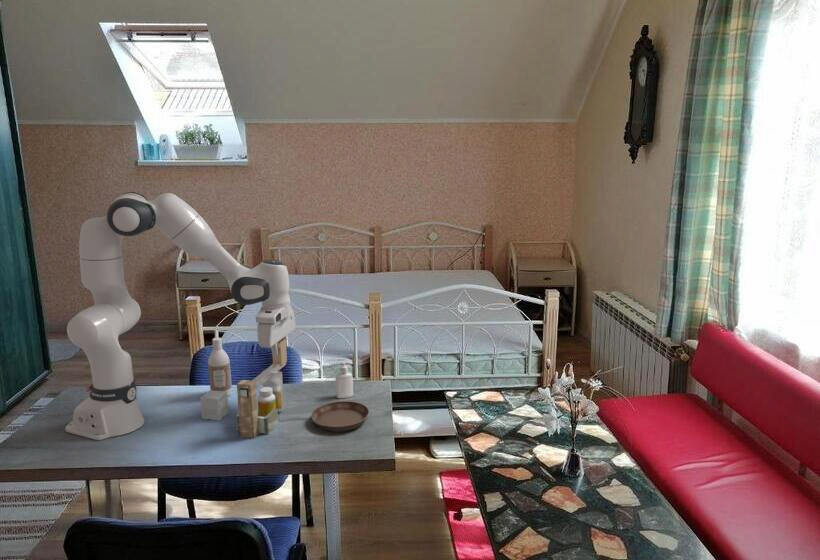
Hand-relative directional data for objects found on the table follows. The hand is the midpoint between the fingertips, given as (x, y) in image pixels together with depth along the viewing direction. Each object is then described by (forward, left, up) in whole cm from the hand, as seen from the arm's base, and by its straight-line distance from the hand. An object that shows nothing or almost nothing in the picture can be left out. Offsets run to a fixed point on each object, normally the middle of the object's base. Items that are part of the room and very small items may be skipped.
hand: (279, 351), depth 203 cm
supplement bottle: (0, -11, -18) cm, 21 cm away
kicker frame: (0, -18, -18) cm, 25 cm away
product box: (-17, -13, -18) cm, 28 cm away
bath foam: (-24, +3, -18) cm, 30 cm away
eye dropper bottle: (+18, +10, -18) cm, 28 cm away
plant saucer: (+23, -8, -18) cm, 31 cm away
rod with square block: (0, -11, -17) cm, 20 cm away
